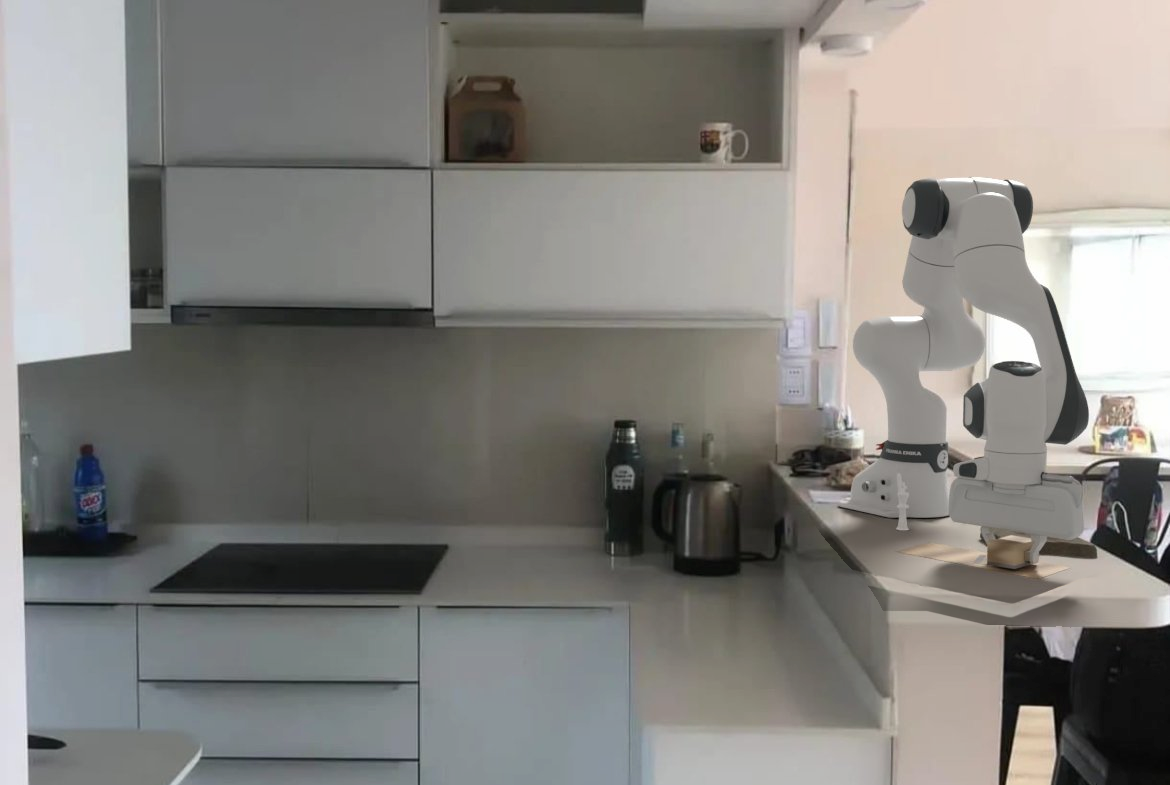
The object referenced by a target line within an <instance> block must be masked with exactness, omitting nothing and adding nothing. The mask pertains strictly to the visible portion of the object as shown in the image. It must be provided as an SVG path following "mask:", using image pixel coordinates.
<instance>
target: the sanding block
mask: <svg viewBox="0 0 1170 785" xmlns="http://www.w3.org/2000/svg"><path fill="white" fill-rule="evenodd" d="M1034 543H1035V541H1034V542H1033V541H1031V538H1025V537H1019V536H1013V535H1010V536H1006V537H1002V538H999V539H995V540H991V541H988V543H986V545H987V546H986V548H987V549H986V550H987V552H986V553H987V564H989V565H994V566H1000V567H1005V568H1011V569H1017V568H1020V567H1023V566H1027V565H1030V564H1031V563H1026V562H1024V558H1025V557H1024V551H1028V550H1030V549H1031V548H1032V546H1033V544H1034Z"/></svg>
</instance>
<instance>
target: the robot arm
mask: <svg viewBox="0 0 1170 785" xmlns="http://www.w3.org/2000/svg"><path fill="white" fill-rule="evenodd" d="M901 205H902V206H901V215H902V217H901V218H902V222H903V223H902V224H903V226H904V229H905V230H906V231H907V232H908V233H909V235H911V236H912V237H911V240H910V244H909V248H908V253H907V258H906V263H905V267H904V272H903V275H902V276H903V277H902V288H903V291H904V293H905V295H906V296H907V297H908V298H909V300H911V301H913V302H914V303H915V304H917V305H919V306H921V307H922V308H924V310H923V312H922V314H921V315H919V314H918V315H887V316H880V317H875V318H872V319H871V318H870V319H868V320H867V319H866V320H864V321H862V323H860V325H858V326H857V329H856V330H855V332H854V335H853V340H852V350H853V354H854V356H855V358H856V361H857V362H858V364H860V366H861V367H863V368H864V369H865V370H866V371H868V372H869V374H871V375H872V376H873V377H874V378H875V380H876V381H877V383H878V384H879V386H880V388H881V390H882V392H883V394H884V398H885V402H886V411H887V440H885V441H883V442H882V443H877V444H875V446H877V448H875V450H876V451H879V450H881V452H880V455H879V458H877V460H876V461H873V463H871V464H870V465H868V466H867V467H865V468H864V469H863V470H861V471H860V472H858V473H857V474H856V475H855V476H854V478H853V480H852V484H851V488H850V494H849V495H850V496H849V497H846V498H842V499H840V500H839V501H838V502H839V503H838V507H841V508H844V509H849V510H855V511H858V512H864V513H867V514H871V515H877V516H881V517H886V518H894V519H895V518H898V519H899V515H900V508H897V505H900V501H899V498H898V495H897V493H898V492H901V488H899V485H901V483H902V482H905V486H907V489H905V492H908V493H909V496H908V499H907V502H906V505H908V506H909V508H906V518H924V519H925V518H926V519H927V518H928V519H929V518H942V517H948V516H949V518H950V519H951V521H952V522H953V523H959V524H963V525H964V524H966V525H972V526H978V527H980V529H981V530H980V533H981V534H982V536H983V538H984V540H985V541H986V543H985V544H987V543H988V541H991V540H995V536H994V534H993V533H995V532H996V529H1002V530H1009V531H1015V532H1021V533H1028V534H1031V541H1033V542H1034V541H1035V543H1034V544H1033V546H1032V548H1031V549H1030V550H1028V551H1024V557H1025V558H1024V562H1026V563H1031V564H1036V563H1038V562H1040V561H1039V559H1040V558H1039V557H1040V556H1039V555H1040V554H1039V551H1040V550H1041V548H1042V547H1043V546H1044V544H1045V543H1046V541H1047V537H1053V538H1060V539H1066V540H1071V539H1075V538H1080V536H1081V535H1082V534H1083V533H1084V531H1085V530H1084V529H1085V524H1084V523H1085V522H1084V521H1085V520H1084V510H1083V500H1084V487H1083V484H1081V482H1080V481H1079V480H1077V479H1076V478H1074V476H1073V475H1067V474H1062V475H1061V474H1056V473H1050V472H1047V466H1048V465H1047V463H1048V462H1047V459H1048V448H1047V444H1051V445H1052V444H1054V445H1064V446H1065V445H1068V444H1070V443H1072V442H1073V441H1074V440H1076V439H1077V438H1079V436H1081V434H1083V432H1084V431H1085V430H1086V429H1087V428H1088V425H1089V422H1090V412H1089V411H1090V410H1089V406H1088V399H1087V397H1086V394H1085V392H1084V389H1083V387H1082V384H1081V383H1080V380H1079V378H1078V375H1077V371H1076V369H1075V365H1074V362H1073V359H1072V355H1071V352H1070V347H1069V344H1068V341H1067V338H1066V334H1065V331H1064V327H1063V324H1062V320H1061V317H1060V313H1059V311H1058V307H1057V305H1056V302H1055V299H1054V296H1053V295H1052V293H1051V291H1050V290H1049V288H1048V287H1047V286H1045V285H1042V284H1041V283H1039V282H1038V280H1036V278H1035V276H1034V275H1033V274H1032V272H1031V270H1030V268H1029V266H1028V263H1027V259H1026V253H1025V252H1026V251H1025V244H1024V236H1023V234H1024V233H1026V231H1027V230H1028V228H1029V226H1030V224H1031V222H1032V218H1033V213H1034V200H1033V196H1032V193H1031V191H1030V190H1029V188H1028V186H1026V184H1024V183H1022V182H1019V181H1015V180H1011V179H1004V180H999V179H993V178H988V177H987V178H986V177H975V176H973V177H972V176H969V177H950V178H949V177H948V178H938V179H936V178H935V177H928V178H923V179H918V180H915V181H913V182H912V184H910V185H909V187H908V188H907V189H906V192H905V194H904V198H903V200H902V204H901ZM964 300H965V301H967V303H969V304H970V305H971V306H972V307H974V308H975V309H978V310H980V311H982V312H984V313H986V314H989V315H993V316H996V317H998V318H1002V319H1004V320H1007V321H1009V322H1012V323H1014V324H1016V325H1018V326H1019V327H1021V328H1023V329H1024V330H1025V331H1026V332H1027V334H1029V335H1030V337H1031V338H1032V340H1033V341H1032V342H1033V344H1034V348H1035V350H1036V354H1037V357H1038V362H1039V365H1040V366H1039V365H1037V364H1035V363H1032V362H1028V361H1027V362H1026V361H1019V360H1015V361H1014V360H1008V361H1007V360H1006V361H1001V362H997V363H994V364H992V365H991V367H990V368H989V372H988V378H987V379H985V380H983V381H980V382H976V383H975V384H974V385H972V386H971V387H970V388H969V389H968V390H967V391H966V392H965V393H964V395H963V402H962V403H963V410H962V411H963V412H962V413H963V415H962V424H963V427H964V428H965V429H966V431H968V433H970V434H971V435H972V436H973V437H975V438H976V439H979V440H983V441H985V443H984V450H983V452H984V453H983V456H977V457H974V458H973V459H969V460H966V461H965V460H964V461H961V462H957V463H955V464H954V465H953V468H952V469H953V471H952V474H953V475H954V477H956V478H955V479H954V480H952V482H951V484H950V488H949V484H948V476H947V474H948V473H947V471H948V466H949V464H948V463H949V443H948V441H947V405H946V403H945V401H944V399H943V398H942V397H941V396H940V395H938V394H937V393H935V392H933V391H932V390H930V389H927V388H925V387H924V386H923V384H922V383H921V380H920V372H952V371H958V370H962V369H967V368H971V367H974V366H975V365H977V363H978V362H979V361H980V360H981V359H982V356H983V355H984V352H985V346H986V339H985V335H984V332H983V329H982V327H981V325H980V324H979V323H978V322H977V321H976V320H974V319H973V318H972V317H971V316H970V314H968V312H967V310H966V308H965V304H964Z"/></svg>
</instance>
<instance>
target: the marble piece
mask: <svg viewBox="0 0 1170 785" xmlns="http://www.w3.org/2000/svg"><path fill="white" fill-rule="evenodd" d="M979 530H980V531H981V528H980V529H979ZM993 534H994V536H995V539H999V538H1002V537H1006V536H1010V535H1013V536H1019V537H1025V538H1031V534H1028V533H1021V532H1015V531H1009V530H1002V529H996V532H995V533H993ZM979 537H980V540H981V541H982V542H984V543H985V544H987V543H986V541H985V540H984V538H983V536H982V534H981V532H980V535H979ZM1040 554H1041V555H1042V554H1043V555H1058V556H1069V557H1070V556H1071V557H1081V558H1093V559H1094V558H1098V548H1097V546H1095V544H1094V543H1092V542H1090V541H1088V540H1085V539H1083V538H1081V537H1078V538H1075V539H1071V540H1066V539H1060V538H1053V537H1047V541H1046V543H1045V544H1044V546H1043V547H1042V548H1041V550H1040V551H1039V555H1040Z"/></svg>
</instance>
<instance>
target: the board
mask: <svg viewBox="0 0 1170 785" xmlns="http://www.w3.org/2000/svg"><path fill="white" fill-rule="evenodd" d="M894 552H895V553H898V554H906V555H910V556H916V557H920V558H927V559H931V560H936V561H941V562H947V563H951V564H952V563H953V564H958V565H962V566H969V567H974V568H978V569H985V570H989V571H993V572H1000V573H1005V574H1010V575H1016V576H1020V577H1021V576H1022V577H1026V578H1031V579H1037V580H1039V579H1043V578H1045V577H1049V576H1051V575H1054V574H1058V573H1060V572H1063V571H1066V570H1070V567H1069V566H1062V565H1058V564H1051V563H1046V562H1041V561H1038V563H1036V564H1030V565H1027V566H1023V567H1020V568H1017V569H1011V568H1005V567H1000V566H994V565H989V564H987V552H983V551H979V550H974V549H967V548H962V547H957V546H950V545H945V544H942V543H941V544H940V543H933V542H926V543H922V544H918V545H914V546H910V547H907V548H903V549H900V550H899V549H898V550H895V551H894Z"/></svg>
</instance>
